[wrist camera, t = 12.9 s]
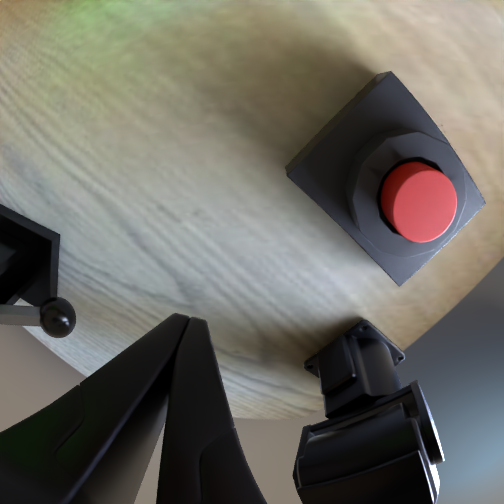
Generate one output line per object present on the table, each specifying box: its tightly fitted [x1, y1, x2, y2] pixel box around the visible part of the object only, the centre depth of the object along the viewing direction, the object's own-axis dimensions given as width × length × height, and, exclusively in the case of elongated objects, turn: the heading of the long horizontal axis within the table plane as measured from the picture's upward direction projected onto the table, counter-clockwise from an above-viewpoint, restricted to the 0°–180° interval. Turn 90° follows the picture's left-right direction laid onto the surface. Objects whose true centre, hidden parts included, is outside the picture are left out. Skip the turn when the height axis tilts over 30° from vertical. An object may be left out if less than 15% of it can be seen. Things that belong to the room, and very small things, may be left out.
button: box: [381, 162, 457, 242], centre depth 13 cm, size 4×4×2 cm
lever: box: [0, 297, 76, 338], centre depth 16 cm, size 12×3×3 cm
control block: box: [285, 71, 486, 287], centre depth 15 cm, size 10×8×4 cm
